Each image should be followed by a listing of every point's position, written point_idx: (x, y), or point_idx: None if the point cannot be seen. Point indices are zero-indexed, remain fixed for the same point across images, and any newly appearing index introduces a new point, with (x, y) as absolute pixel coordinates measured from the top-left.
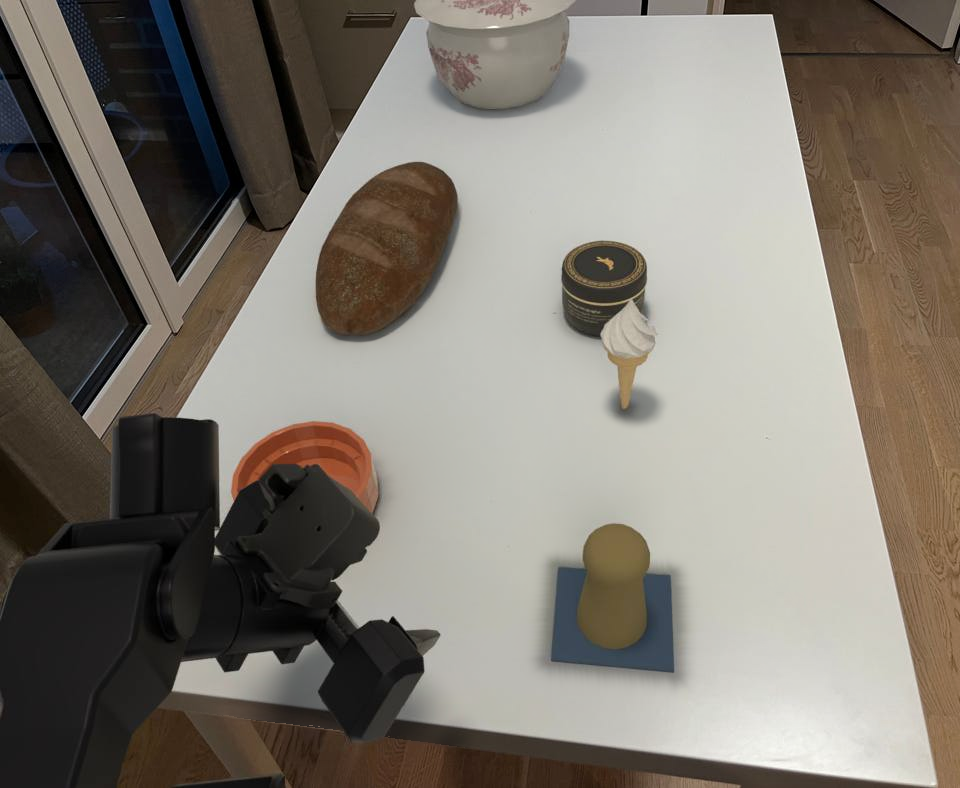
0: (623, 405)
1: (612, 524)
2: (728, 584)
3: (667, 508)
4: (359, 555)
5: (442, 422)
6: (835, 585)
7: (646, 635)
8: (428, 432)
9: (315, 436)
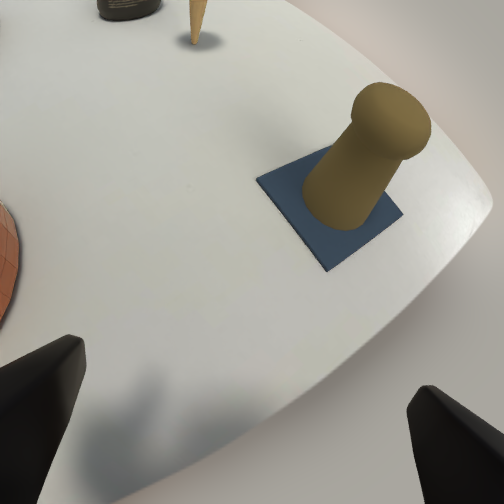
0: (195, 40)
1: (375, 84)
2: None
3: (290, 94)
4: (76, 367)
5: (39, 119)
6: None
7: None
8: (30, 134)
9: None
